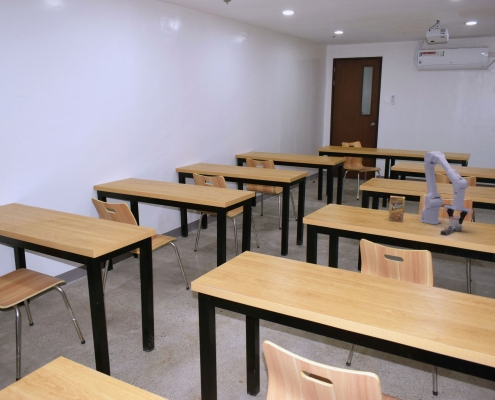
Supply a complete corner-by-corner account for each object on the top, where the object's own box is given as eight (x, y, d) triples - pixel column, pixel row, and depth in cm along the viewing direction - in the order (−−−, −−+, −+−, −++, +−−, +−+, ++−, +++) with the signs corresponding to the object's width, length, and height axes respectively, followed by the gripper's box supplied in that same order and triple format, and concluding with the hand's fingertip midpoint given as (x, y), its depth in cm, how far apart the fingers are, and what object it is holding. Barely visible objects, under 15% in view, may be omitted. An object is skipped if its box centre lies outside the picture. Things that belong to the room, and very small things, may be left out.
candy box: (388, 220, 274) (390, 196, 271) (388, 219, 278) (390, 195, 275) (402, 222, 271) (405, 198, 268) (403, 220, 275) (405, 196, 272)
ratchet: (436, 233, 247) (437, 225, 246) (451, 227, 259) (452, 219, 258) (449, 236, 242) (450, 227, 241) (463, 230, 254) (464, 222, 253)
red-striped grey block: (448, 225, 254) (449, 216, 253) (452, 224, 257) (453, 215, 256) (457, 227, 250) (458, 218, 249) (461, 226, 253) (462, 217, 252)
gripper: (442, 198, 253) (440, 221, 256) (468, 203, 243) (465, 226, 245) (448, 197, 258) (445, 219, 261) (473, 201, 247) (470, 224, 250)
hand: (455, 222), depth 253 cm, fingers closed on red-striped grey block, 5 cm apart
